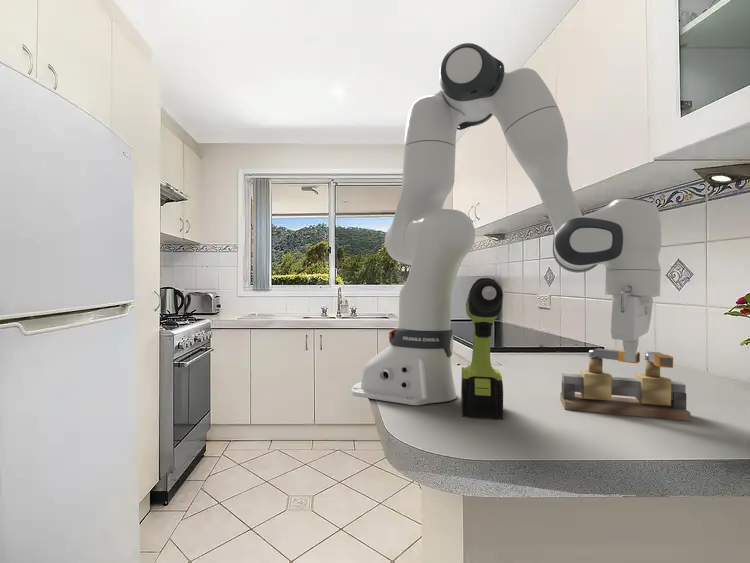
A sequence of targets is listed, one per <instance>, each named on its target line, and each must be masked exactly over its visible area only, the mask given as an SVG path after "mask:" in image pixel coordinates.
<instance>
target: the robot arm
mask: <svg viewBox="0 0 750 563" xmlns="http://www.w3.org/2000/svg"><path fill="white" fill-rule="evenodd" d="M438 76H439V84H440V87H441V89H440V90H439V91H438V92H437V93H434V94H432V95H429V94H428V95H425V96H421V97H419V98H418V99H416V100H415V101H414V102H413V103H412V105H411V106H410V109H409V112H408V116H407V122H406V127H405V133H404V141H403V142H404V146H403V167H402V182H401V188H400V193H399V197H398V202H397V205H396V210H395V212H394V216H393V220H392V222H391V224H390V227H388V229H387V231H386V233H385V235H384V236H385V237H384V248H385V250H386V252H387V254H388V255H389V256H390V258H391V259H393V260H394V261H397V262H399V263H401V264H404V265H409V266H410V269H409V272H408V276H407V279H406V281H405V283H404V285H403V286H401V289H400V291H399V301H398V327H395V328H393V329H392V330H391V331H389V333H388V340H389V343H390V344H389V345H388V346H387V347H386V348H384V349H383V350H381V351H380V352H378V354H376V355H374V356H373V357H372V358H371V359H370V360H368V361H367V362H366V364H365V366H364V369H363V370H362V371H363V372H362V376H361V381H360V382H357V383H355V384H354V385H353V386H352V387H351V391H350V394H351V396H353V397H359V398H363V399H364V398H365V399H371V400H378V401H384V402H390V403H397V404H403V405H410V406H423V405H427V404H436V403H445V402H450V401H452V400H455V399H456V398H457V397H458V394H457V391H456V387H455V386H456V385H455V382H454V376H453V375H454V374H453V369H452V367H453V365H452V356H453V350H454V336H453V329H451V323H452V322H451V321H452V320H451V318H452V299H453V298H452V297H453V290H454V287H455V282H456V279H457V275H458V272H459V269H460V267H461V265H462V263H463V260H464V259H465V258H466V256H467V255H468V254H469V253H470V252H471V250H473V247H474V244H475V240H476V230H475V226H474V225H475V224H474V223H473V221H472V219H471V218H470V217H469V216H468V214H466V213H465V212H464V211H461V210H458V209H451V208H444V204H445V202H446V199H447V197H448V195H449V194H450V193H451V191H452V190H453V188H454V185H455V174H456V173H455V170H456V169H455V168H456V145H457V143H456V142H457V141H456V139H457V138H456V137H457V131H462V130H465V129H467V128H470V127H475V126H480V125H482V124H484V123H486V122H487V121H490V119H491V118H492V117H495V118H496V120H497V122H498V123H499V124H500V127H501V130H502V132H503V135H504V138H505V140H506V142H507V145H508V147H509V149H510V150H511V152H512V153H513V156H514V157H515V159H516V161H517V162H518V164H519V165H520V166H521V168H522V170H523V171H524V172H525V174H526V175H527V177H528V179H530V180H531V182H532V184H533V185H534V187H535V189H536V190H537V192H538V194H539V197H540V200H541V201H542V205H543V207H544V209H545V212H546V214H547V216H548V220H549V222H550V226H551V229H552V232H553V233H552V234H553V240H552V254H553V259H555V260H554V261H555V262H556V263H557V265H558V266H560V267H561V268H562V269H564V270H566V271H568V272H572V273H575V274H577V273H586V272H589V271H590V270H592V269H594V268H596V267H597V266H598V265H604V266H605V285H604V286H605V287H604V288H605V292H604V293H605V296H612V303H611V305H612V306H611V314H610V316H611V317H610V336H611V339H612V340H617V341H618V340H620V341H622V347H623V350H624V360H625V361H628V362H634V361H635V360H636V354H637V352H638V346H639V341H640V340H639V339H640V338H641V337H642V336H645V335H646V334H648V332H649V329H650V325H651V319H652V310H653V305H654V304H653V303H654V298H655V297H660V296H661V271H662V270H661V264H660V262H659V256H660V255H659V254H660V252H661V249H662V224H661V222H662V221H661V215H660V211H659V208H658V207H657V206H656V204H654V203H653V202H652V201H649V200H647V199H642V198H637V197H636V198H635V197H634V198H633V197H624V198H623V197H621V198H620V197H619V198H617V199H616V198H615V199H614V200H612V201H611V202H610V203H609V204H607V205H605V206H604V207H602V208H600V209H597V210H595V211H593V212H591V213H587V214H585V215H583V213H582V212H581V209H580V207H579V204H578V201H577V199H576V196H575V193H574V192H573V189H572V186H571V183H570V180H569V173H568V158H569V157H568V156H569V155H568V154H569V153H568V152H569V140H568V134H567V129H566V124H565V121H564V118H563V116H562V113H561V111H560V109H559V107H558V104H557V102H556V100H555V98H554V96H553V94H552V92H551V91H550V89H549V87H548V86H547V84H546V83H545V81H544V80H543V78H542V77H541V76H540V74H539V73H538V72H537V71H536V70H534V69H532V68H528V67H521V68H517V69H514V70H511V71H510V72H505V64H504V63H503V61H502V60H499V59H498V58H496V57H494V56H493V55H492V54H490V52H489V51H487V49H485V48H483V47H482V46H480V45H478V44H475V43H471V42H465V43H460V44H458V45H455V46H454V47H453V48H451V49H450V50H449V51H448V52H447V53H446V54H445V56H444V57H443V59H442V61H441V64H440V67H439V75H438ZM628 362H627V363H628Z"/></svg>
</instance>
